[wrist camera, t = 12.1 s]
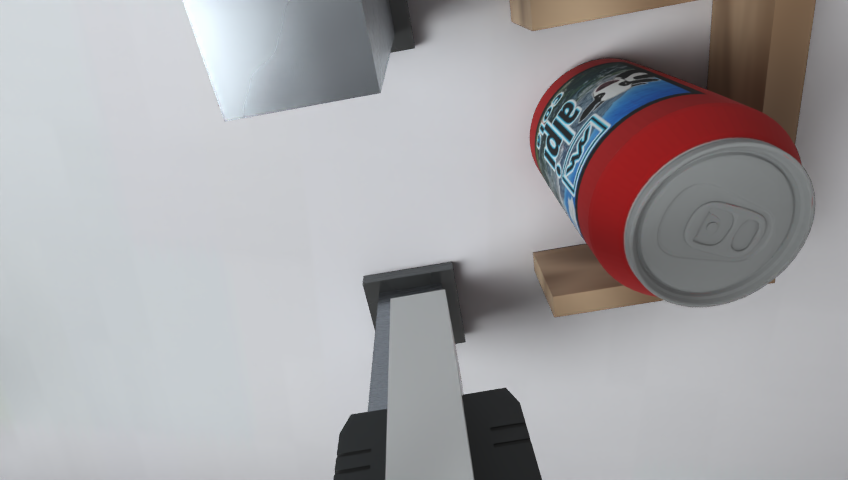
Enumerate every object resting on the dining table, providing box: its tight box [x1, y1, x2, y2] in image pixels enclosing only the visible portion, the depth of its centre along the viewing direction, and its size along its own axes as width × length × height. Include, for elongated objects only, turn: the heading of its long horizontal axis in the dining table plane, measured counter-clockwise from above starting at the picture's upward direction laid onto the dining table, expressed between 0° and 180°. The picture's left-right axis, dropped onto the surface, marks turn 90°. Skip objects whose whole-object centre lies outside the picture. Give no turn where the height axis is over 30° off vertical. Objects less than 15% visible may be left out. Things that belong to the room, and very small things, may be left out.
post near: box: [183, 0, 415, 121], centre depth 17 cm, size 5×5×14 cm
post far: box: [363, 262, 465, 412], centre depth 24 cm, size 5×5×14 cm
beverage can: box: [530, 58, 815, 307], centre depth 21 cm, size 7×7×12 cm
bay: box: [510, 0, 816, 317], centre depth 24 cm, size 10×14×4 cm
